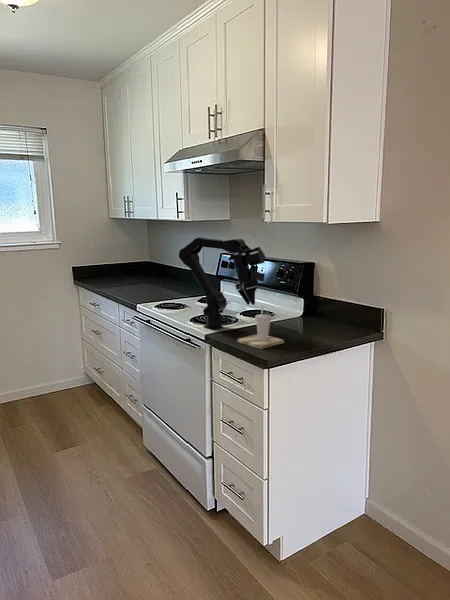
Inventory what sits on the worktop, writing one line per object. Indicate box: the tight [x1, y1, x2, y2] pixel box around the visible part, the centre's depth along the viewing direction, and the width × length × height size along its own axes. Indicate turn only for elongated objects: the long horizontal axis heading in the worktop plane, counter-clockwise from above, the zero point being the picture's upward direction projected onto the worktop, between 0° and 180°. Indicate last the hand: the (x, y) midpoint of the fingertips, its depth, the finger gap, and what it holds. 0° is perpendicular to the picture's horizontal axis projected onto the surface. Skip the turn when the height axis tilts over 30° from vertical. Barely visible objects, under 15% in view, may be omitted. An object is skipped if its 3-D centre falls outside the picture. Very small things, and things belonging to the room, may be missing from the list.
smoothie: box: [254, 304, 272, 341], centre depth 178 cm, size 6×6×14 cm
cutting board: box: [236, 333, 285, 350], centre depth 180 cm, size 13×13×1 cm
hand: (251, 304), depth 191 cm, fingers open, 9 cm apart
